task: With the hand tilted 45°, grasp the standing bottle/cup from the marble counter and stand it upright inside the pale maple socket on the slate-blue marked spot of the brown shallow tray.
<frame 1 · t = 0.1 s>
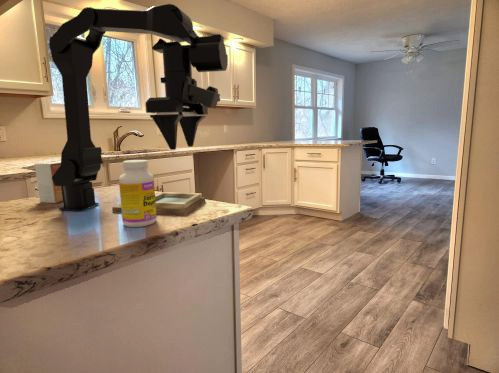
hand: (182, 147, 70), 15 cm above the counter, tool pointing down, fingers open, 9 cm apart
brown shallow tray: (161, 206, 78), on the counter
supplement bottle: (140, 223, 65), on the counter
small box: (60, 200, 88), on the counter
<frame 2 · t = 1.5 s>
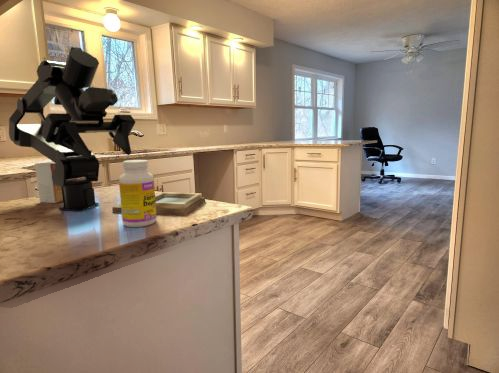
hand: (110, 155, 67), 14 cm above the counter, tool tilted 45°, fingers open, 9 cm apart
nothing on the counter moved.
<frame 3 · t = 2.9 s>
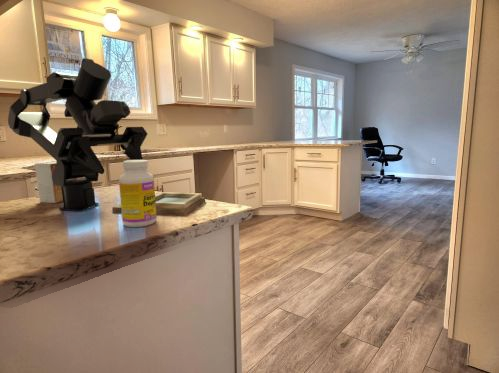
hand: (123, 169, 65), 11 cm above the counter, tool tilted 45°, fingers open, 9 cm apart
nothing on the counter moved.
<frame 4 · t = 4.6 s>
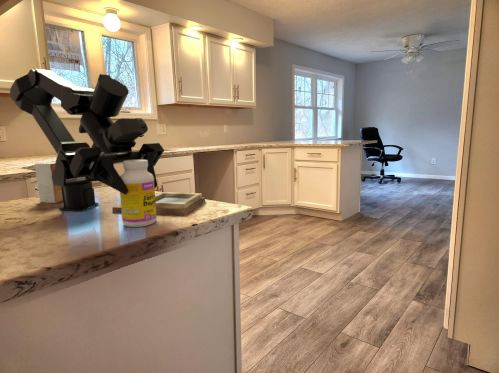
hand: (141, 189, 63), 7 cm above the counter, tool tilted 45°, fingers closed on supplement bottle, 7 cm apart
supplement bottle: (140, 223, 65), on the counter, touching gripper
everything else where it was.
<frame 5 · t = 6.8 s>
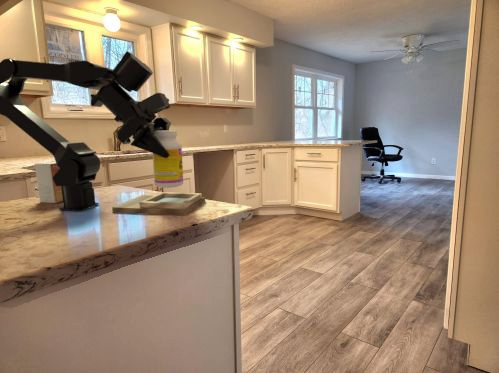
hand: (173, 155, 74), 13 cm above the counter, tool tilted 45°, fingers closed on supplement bottle, 7 cm apart
supplement bottle: (169, 186, 75), point 5 cm above the counter, touching gripper
everything else where it was.
when the fingers open (9 cm above the counter, at t = 8.9 s): supplement bottle stays where it is, resting on brown shallow tray.
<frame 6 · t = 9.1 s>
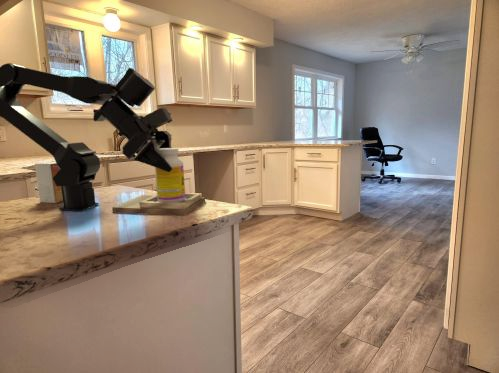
hand: (175, 167, 76), 10 cm above the counter, tool tilted 45°, fingers open, 8 cm apart
supplement bottle: (171, 202, 77), point 1 cm above the counter, touching brown shallow tray
everything else where it was.
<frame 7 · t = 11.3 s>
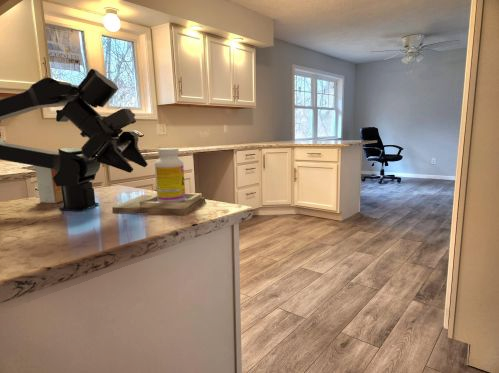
hand: (139, 168, 76), 10 cm above the counter, tool tilted 45°, fingers open, 9 cm apart
nothing on the counter moved.
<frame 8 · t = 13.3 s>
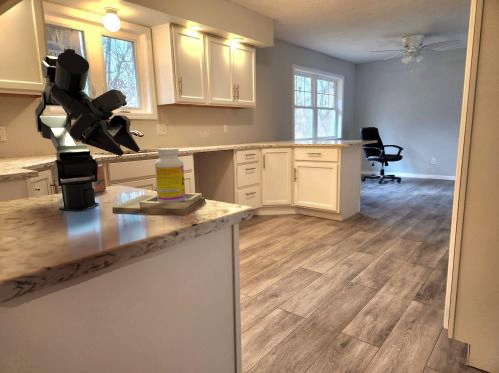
hand: (131, 152, 73), 14 cm above the counter, tool tilted 45°, fingers open, 9 cm apart
small box: (69, 183, 90), point 4 cm above the counter
everything else where it was.
at the end: supplement bottle 0.2 cm from the target spot on the brown shallow tray, point 1.2 cm above the brown shallow tray's base; supplement bottle tilted 0°; the gripper is holding nothing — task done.
